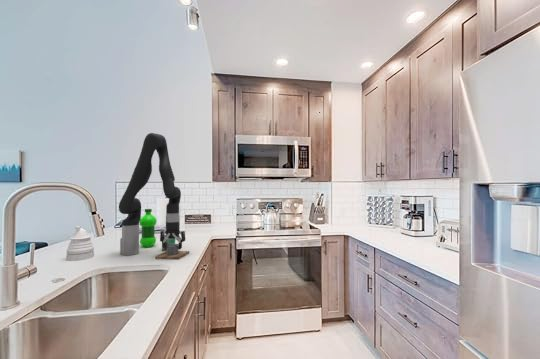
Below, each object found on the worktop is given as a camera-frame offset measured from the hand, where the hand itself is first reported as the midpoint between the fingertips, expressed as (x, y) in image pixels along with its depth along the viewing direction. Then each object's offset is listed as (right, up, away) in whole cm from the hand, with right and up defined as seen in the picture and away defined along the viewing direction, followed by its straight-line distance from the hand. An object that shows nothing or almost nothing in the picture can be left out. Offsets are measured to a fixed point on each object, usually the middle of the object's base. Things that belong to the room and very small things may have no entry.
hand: (172, 249), depth 156 cm
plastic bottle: (-26, -5, +25) cm, 36 cm away
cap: (0, -3, 0) cm, 3 cm away
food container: (-7, -5, +17) cm, 19 cm away
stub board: (0, -4, 0) cm, 4 cm away
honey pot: (-52, -5, -3) cm, 52 cm away
